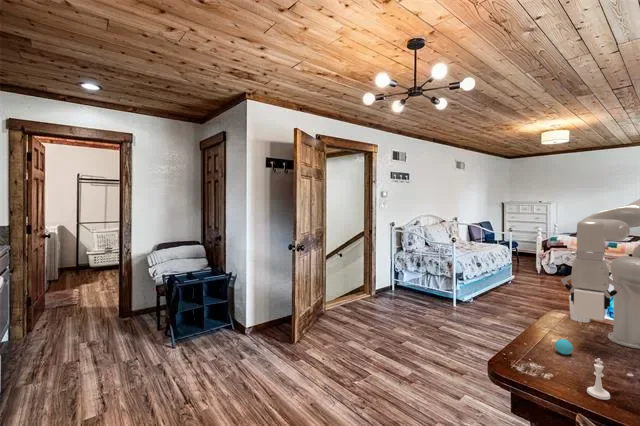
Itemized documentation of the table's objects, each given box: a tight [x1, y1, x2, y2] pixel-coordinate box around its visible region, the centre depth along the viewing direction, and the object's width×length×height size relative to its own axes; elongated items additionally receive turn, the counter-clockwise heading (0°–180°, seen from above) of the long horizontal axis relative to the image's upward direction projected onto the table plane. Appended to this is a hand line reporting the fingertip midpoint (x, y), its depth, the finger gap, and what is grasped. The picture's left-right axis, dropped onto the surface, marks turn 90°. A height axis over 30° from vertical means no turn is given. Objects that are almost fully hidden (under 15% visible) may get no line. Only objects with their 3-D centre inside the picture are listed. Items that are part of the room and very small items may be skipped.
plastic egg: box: [554, 338, 574, 355], centre depth 114 cm, size 5×5×5 cm
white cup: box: [568, 294, 591, 324], centre depth 144 cm, size 8×8×10 cm
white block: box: [574, 288, 607, 322], centre depth 115 cm, size 10×8×9 cm
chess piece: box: [586, 358, 611, 401], centre depth 90 cm, size 5×5×10 cm
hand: (589, 305), depth 115 cm, fingers closed on white block, 7 cm apart
